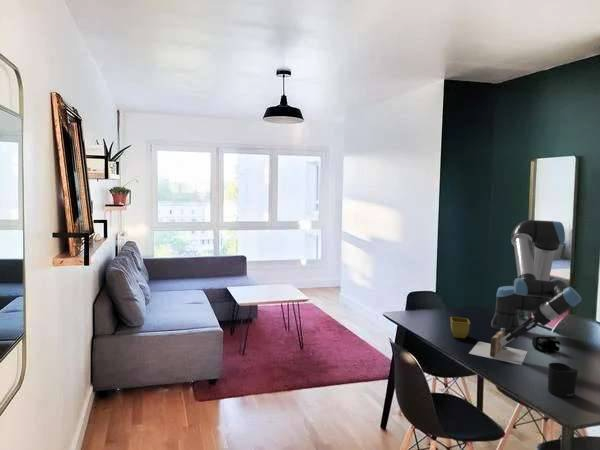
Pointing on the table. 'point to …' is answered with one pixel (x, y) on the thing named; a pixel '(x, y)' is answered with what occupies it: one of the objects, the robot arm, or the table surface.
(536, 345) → the end cap
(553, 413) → the table surface
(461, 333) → the flower pot
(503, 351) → the base
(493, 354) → the gate
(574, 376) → the pen holder
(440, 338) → the table surface
